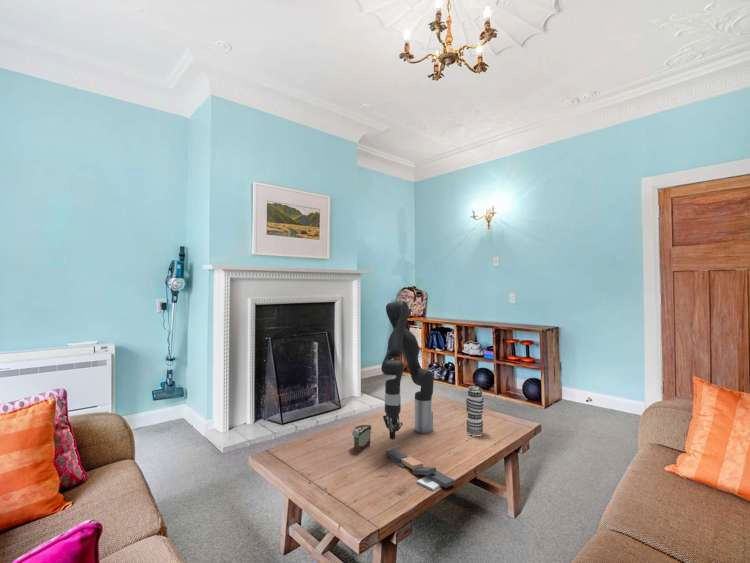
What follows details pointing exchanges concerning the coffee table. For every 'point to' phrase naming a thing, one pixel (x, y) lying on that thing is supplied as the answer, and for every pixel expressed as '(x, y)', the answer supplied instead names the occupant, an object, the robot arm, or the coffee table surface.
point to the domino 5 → (441, 479)
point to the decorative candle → (474, 411)
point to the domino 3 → (412, 463)
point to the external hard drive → (428, 483)
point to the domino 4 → (424, 470)
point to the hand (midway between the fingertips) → (392, 438)
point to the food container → (361, 437)
